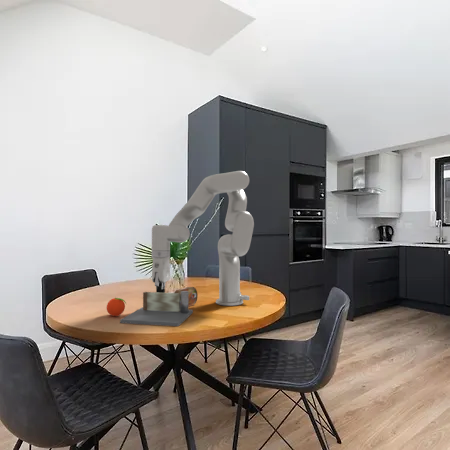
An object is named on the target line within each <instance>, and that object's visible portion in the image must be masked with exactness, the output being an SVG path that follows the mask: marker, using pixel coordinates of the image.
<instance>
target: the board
mask: <svg viewBox="0 0 450 450" xmlns="http://www.w3.org/2000/svg"><path fill="white" fill-rule="evenodd" d="M193 311H194V310H193V309H188V313H186V314H183V313H181V309H180V311H179V312H174V311H154V310H143V307H142V306H141V307H140V308H138V309H136V310H135V311H133V312H132V313H129V314H128V315H126V316H124V317H122V318H120V320H119V324H133V325H150V326H165V327H166V326H167V327H169V326H170V327H179V326H180V325H182V324H183V323H184V321H186V320H187V319H188V318H189V317H190V316H191V315H192V314H193Z"/></svg>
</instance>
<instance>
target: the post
mask: <svg viewBox="0 0 450 450" xmlns="http://www.w3.org/2000/svg"><path fill="white" fill-rule="evenodd" d="M188 310H189V307H188V291H181V313H183V314H186V313H188Z"/></svg>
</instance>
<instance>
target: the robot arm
mask: <svg viewBox="0 0 450 450" xmlns="http://www.w3.org/2000/svg"><path fill="white" fill-rule="evenodd" d="M249 184H250V177H249V175H248V173H246V171H243V170H236V171H230V172H229V171H228V172H224V173H217V174H211V175H209V176H206V177H204V178H203V180H202V181H201V182H200V184H199V185H198V186H197V187H196V189H195V190H194V192H193V194H192V195H191V197H190V198H189V199H188V200H187V202H186V203H185V204H184V205H183V206H182V208H181V209H179V211H178V212H177V213H176V215H175V216H174V217H173V218H172V220H171V221H170V222H169V224H168V225H166V224H164V225H163V224H155V225H152V228H151V259H152V269H151V281H152V283H154V286H155V290H156V291H155V292H158V293H166V282H168V281H170V279H171V263H170V258H171V242H173V243H174V242H175V243H185V242H186V241H188V240H189V238H190V233H191V232H190V229H189V228H188V226H189V225H190V224H191V223H192V222H193V221H194V220H195V219H197V218H198V217H201V216H202V215H203V214H204V213H205V212H206V210H207V208H208V207H209V206H210V205H211V202H212V201H213V200H214V198H215V196H216V195H219V194H227V196H228V206H227V210H226V211H227V212H226V215H225V220H224V226H225V228H226V230H228V231H229V232H232V234H224V235H222V236H221V237H220V238H219V240H218V241H217V253H218V261H219V263H218V264H219V265H218V266H219V268H218V269H219V273H218V274H219V275H218V280H219V281H218V284H219V285H218V286H219V287H218V289H219V291H218V293H219V294H218V295H219V297H218V298H217V299H216V300H215V304H216V305H219V306H225V307H227V306H229V307H230V306H233V307H234V306H239V305H242V304H244V300H245V301H250V295H246V294H244V295H243V294H242V292H241V285H240V284H241V280H240V279H241V275H240V273H241V270H240V269H241V264H240V263H241V262H240V258H239V257H243V256H246V254H247V253H248V251H249V249H250V247H251V242H252V238H253V237H252V236H253V233H254V227H255V222H254V221H255V220H254V217H253V216H252V214H251V213H250V212H249V211H247V205H248V197H247V195H246V193H245V191H244V190H245V189H246V188H247V187H248V186H249Z"/></svg>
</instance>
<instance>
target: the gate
mask: <svg viewBox="0 0 450 450" xmlns="http://www.w3.org/2000/svg"><path fill="white" fill-rule="evenodd" d="M142 295H143V296H142V306H143V310H154V311H174V312H179V311H180V293H174V292H165V293H158V292H156V291H153V292H151V291H144V292H142Z"/></svg>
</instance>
